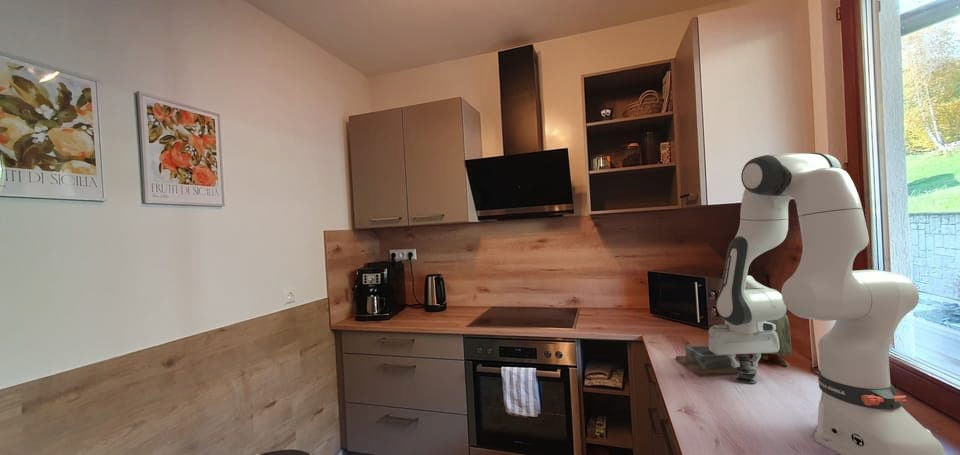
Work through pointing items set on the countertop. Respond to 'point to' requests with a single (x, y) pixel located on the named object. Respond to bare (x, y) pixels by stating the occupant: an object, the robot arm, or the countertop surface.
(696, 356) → the socket caddy
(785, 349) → the green tall textured piece
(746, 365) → the grey chess piece
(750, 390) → the countertop surface
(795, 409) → the countertop surface
